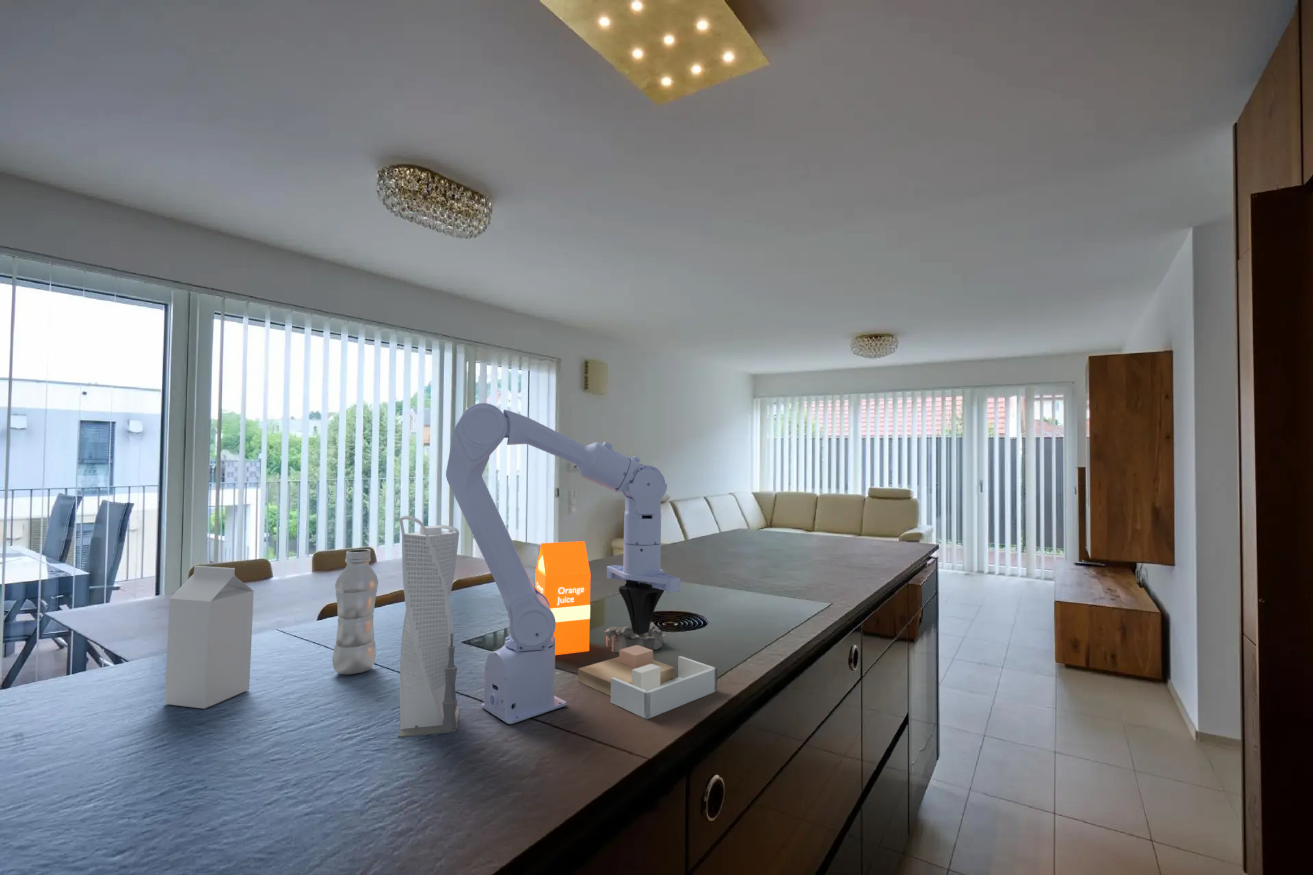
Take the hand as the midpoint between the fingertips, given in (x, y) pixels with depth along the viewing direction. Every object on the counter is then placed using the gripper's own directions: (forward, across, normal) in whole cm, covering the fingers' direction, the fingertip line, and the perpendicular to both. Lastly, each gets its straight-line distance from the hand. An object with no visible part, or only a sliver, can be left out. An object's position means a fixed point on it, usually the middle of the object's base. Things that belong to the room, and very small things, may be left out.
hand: (640, 632), depth 89 cm
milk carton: (+10, +42, +48) cm, 64 cm away
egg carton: (+10, +19, -16) cm, 26 cm away
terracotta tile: (+7, +7, -6) cm, 12 cm away
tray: (+9, -3, -2) cm, 10 cm away
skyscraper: (+10, +13, +28) cm, 32 cm away
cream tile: (+7, 0, 0) cm, 7 cm away
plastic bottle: (+10, +39, +29) cm, 49 cm away
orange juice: (+10, +27, -4) cm, 29 cm away
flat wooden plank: (+9, +6, -2) cm, 11 cm away
